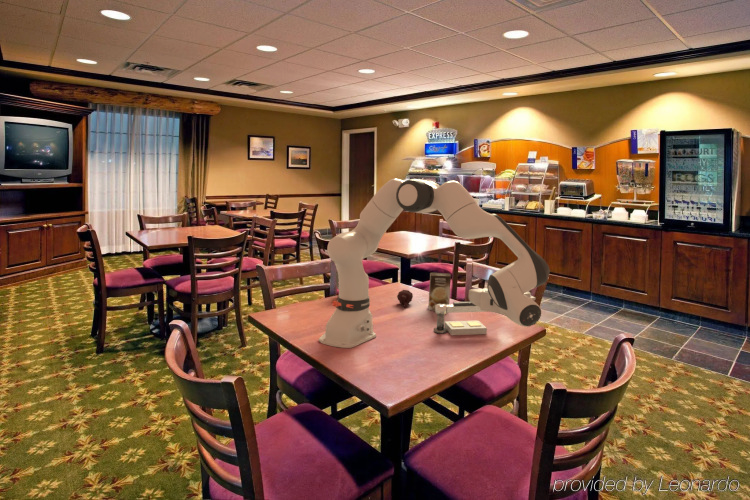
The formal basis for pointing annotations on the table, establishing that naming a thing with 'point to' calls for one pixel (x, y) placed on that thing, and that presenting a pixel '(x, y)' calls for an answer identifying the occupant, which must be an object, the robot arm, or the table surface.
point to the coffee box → (439, 289)
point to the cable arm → (457, 308)
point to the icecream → (405, 297)
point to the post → (440, 324)
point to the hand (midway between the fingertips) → (490, 289)
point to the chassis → (465, 327)
